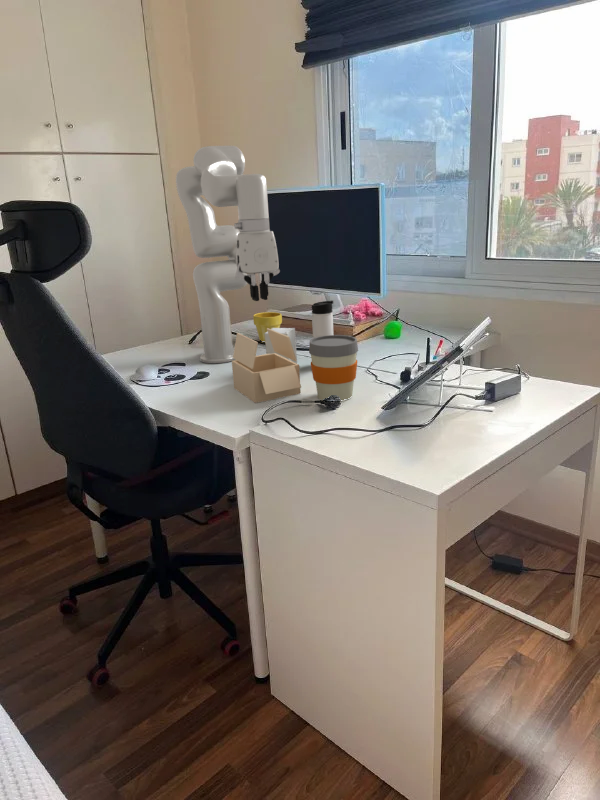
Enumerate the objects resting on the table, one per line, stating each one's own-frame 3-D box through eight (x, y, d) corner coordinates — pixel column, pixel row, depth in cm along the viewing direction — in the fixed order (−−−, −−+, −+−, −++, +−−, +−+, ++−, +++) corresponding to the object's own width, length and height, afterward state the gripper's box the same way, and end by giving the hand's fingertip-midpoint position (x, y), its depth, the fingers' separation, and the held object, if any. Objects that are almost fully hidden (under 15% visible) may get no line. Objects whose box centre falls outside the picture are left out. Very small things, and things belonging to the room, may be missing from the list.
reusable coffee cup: (324, 407, 150) (321, 349, 146) (303, 393, 161) (300, 339, 157) (368, 398, 155) (367, 341, 150) (345, 386, 166) (343, 332, 161)
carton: (229, 384, 173) (226, 357, 170) (271, 376, 178) (269, 350, 175) (261, 407, 153) (258, 376, 150) (307, 397, 159) (305, 367, 156)
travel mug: (334, 368, 183) (331, 302, 176) (312, 368, 184) (309, 303, 177) (337, 363, 188) (334, 299, 182) (316, 363, 190) (313, 299, 183)
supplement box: (298, 368, 185) (295, 327, 181) (290, 375, 179) (287, 333, 175) (275, 367, 188) (273, 327, 184) (266, 374, 181) (263, 332, 177)
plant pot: (287, 338, 225) (285, 311, 221) (276, 344, 215) (274, 317, 212) (262, 337, 228) (260, 311, 225) (250, 343, 219) (248, 317, 216)
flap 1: (258, 342, 153) (256, 342, 153) (253, 369, 154) (252, 369, 154) (238, 333, 165) (237, 332, 164) (234, 358, 166) (233, 357, 166)
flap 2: (266, 328, 168) (267, 328, 168) (274, 351, 171) (275, 350, 171) (287, 337, 156) (289, 336, 157) (295, 361, 159) (296, 360, 160)
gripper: (230, 229, 145) (236, 305, 151) (289, 224, 152) (293, 298, 158) (219, 228, 151) (226, 301, 157) (276, 224, 158) (281, 294, 164)
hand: (259, 299), depth 157 cm, fingers closed
